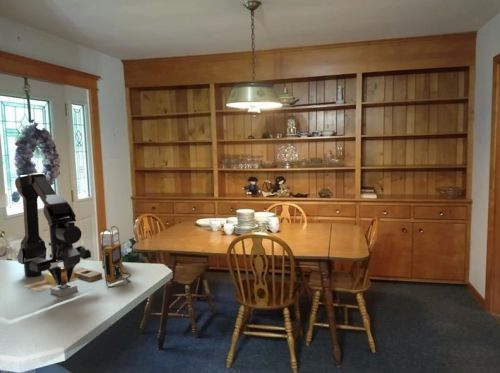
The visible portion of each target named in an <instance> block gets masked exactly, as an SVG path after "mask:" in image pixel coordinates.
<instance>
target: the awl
mask: <svg viewBox="0 0 500 373" xmlns="http://www.w3.org/2000/svg"><path fill="white" fill-rule="evenodd" d="M60 267H61V269H60V271H59V272H60V280H61V289H64V288H67V283H68V274H67V267H64V266H60Z"/></svg>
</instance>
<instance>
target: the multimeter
mask: <svg viewBox="0 0 500 373" xmlns="http://www.w3.org/2000/svg"><path fill="white" fill-rule="evenodd" d="M113 228H116V231H118V240H119V241H120V231H119V229H118V227H117V226H115V225H113V226H111V230H110V229H104V230H103V231H102V232H103V234H104V232H105V231H112V237H111V245H110V246H108V247H106V248H104V254H103V261H104V257H105V264H104V267H103V269H104V271H103V272H104V278H105V279H104V280H105V285H106V287H108V288H114V287H120V286H123V285H124V284H128V282H129V283H132V280H130V279H129V278H130V277H131V275H132V274H131V273H128V272H124V271H123V253H122V252H123V251H122V243H119V244H114V239H113V231H114V230H113ZM110 233H111V232H110ZM102 251H103V235H102ZM124 274H126V275H128V276H127V277H125V279H126V280H127V281H128V282H122V283H119V284H115V281H116V280H117V279H119V278H123V277H124ZM107 282H111V283H112V284H115V285H111V286H110V285H108V283H107Z"/></svg>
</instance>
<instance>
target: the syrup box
mask: <svg viewBox="0 0 500 373" xmlns="http://www.w3.org/2000/svg"><path fill="white" fill-rule="evenodd" d="M112 231H113V239H114V244H119V243H120V239H119V240H118V231H119V230H109V231H108V230H106V231H105V232H104V231H102V232H101V233H99V237H100V251H101V261H102V262H101V263H102V268H104V264H105V257H104V261H103V254H104V248H106V247H108V246H110V245H111V237H112ZM103 232H104V234H103ZM110 232H111V233H110ZM102 235H103V251H102ZM120 244H121V243H120Z"/></svg>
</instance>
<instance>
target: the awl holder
mask: <svg viewBox="0 0 500 373" xmlns="http://www.w3.org/2000/svg"><path fill="white" fill-rule="evenodd" d="M49 289H50V294H53V295H55V296H58V297H63V296H66V295H70V294H72V293H75V292H77V291H78V290H79V289H78V285H77V284H74V283H70V282H69V283H67V288H64V289H61V285H60V286H59V285H57V286H54V287H51V288H49Z"/></svg>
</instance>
